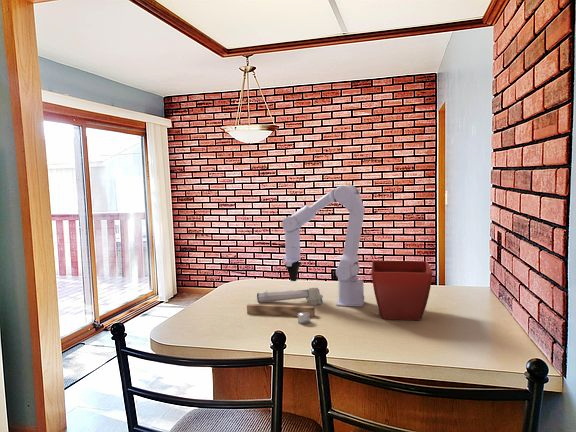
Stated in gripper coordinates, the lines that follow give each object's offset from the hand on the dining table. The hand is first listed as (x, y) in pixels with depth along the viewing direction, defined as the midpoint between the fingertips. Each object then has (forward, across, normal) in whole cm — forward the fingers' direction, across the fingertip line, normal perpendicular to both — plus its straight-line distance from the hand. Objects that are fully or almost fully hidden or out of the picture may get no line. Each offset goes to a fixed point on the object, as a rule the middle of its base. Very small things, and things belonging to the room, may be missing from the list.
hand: (293, 280), depth 180 cm
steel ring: (+7, +29, +10) cm, 31 cm away
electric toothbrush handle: (+7, +7, 0) cm, 10 cm away
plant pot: (+7, +16, +41) cm, 45 cm away
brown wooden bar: (+7, +22, 0) cm, 23 cm away
